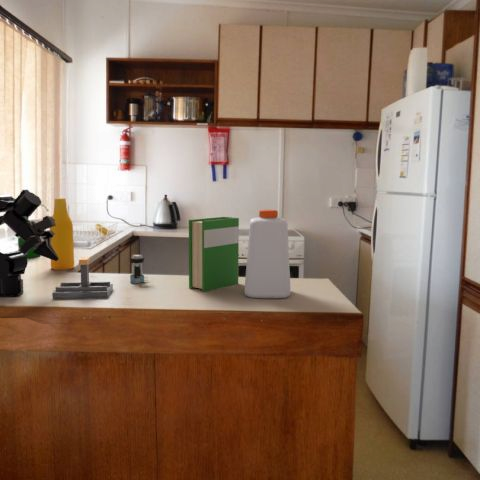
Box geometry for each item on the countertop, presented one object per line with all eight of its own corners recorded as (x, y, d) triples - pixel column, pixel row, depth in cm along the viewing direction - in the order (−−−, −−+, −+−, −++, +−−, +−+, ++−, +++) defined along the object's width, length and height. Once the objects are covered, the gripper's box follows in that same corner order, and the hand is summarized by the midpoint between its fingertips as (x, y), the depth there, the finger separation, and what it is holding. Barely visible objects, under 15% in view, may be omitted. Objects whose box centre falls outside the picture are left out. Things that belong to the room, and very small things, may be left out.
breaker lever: (79, 288, 163) (78, 260, 162) (82, 285, 168) (81, 257, 167) (88, 288, 164) (87, 259, 162) (91, 285, 168) (90, 257, 167)
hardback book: (204, 291, 171) (204, 221, 168) (189, 288, 175) (188, 219, 172) (238, 283, 184) (238, 218, 181) (223, 280, 189) (223, 216, 186)
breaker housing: (52, 299, 159) (52, 289, 159) (61, 290, 171) (61, 281, 171) (107, 298, 161) (107, 288, 161) (112, 289, 173) (112, 280, 173)
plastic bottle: (245, 288, 177) (245, 208, 173) (288, 288, 176) (290, 208, 172) (244, 298, 162) (244, 211, 158) (291, 299, 161) (293, 212, 157)
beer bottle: (64, 270, 205) (62, 199, 201) (46, 269, 208) (43, 198, 204) (79, 266, 213) (76, 198, 210) (60, 265, 216) (58, 197, 212)
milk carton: (15, 257, 236) (13, 214, 234) (32, 254, 244) (30, 213, 241) (26, 259, 231) (24, 215, 229) (43, 256, 239) (42, 214, 236)
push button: (146, 280, 188) (146, 253, 187) (149, 283, 183) (149, 255, 182) (128, 281, 186) (128, 254, 185) (131, 284, 181) (130, 256, 180)
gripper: (28, 210, 151) (67, 246, 153) (47, 206, 170) (82, 238, 172) (3, 236, 152) (41, 272, 154) (24, 229, 170) (59, 261, 172)
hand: (57, 259), depth 163 cm, fingers closed
